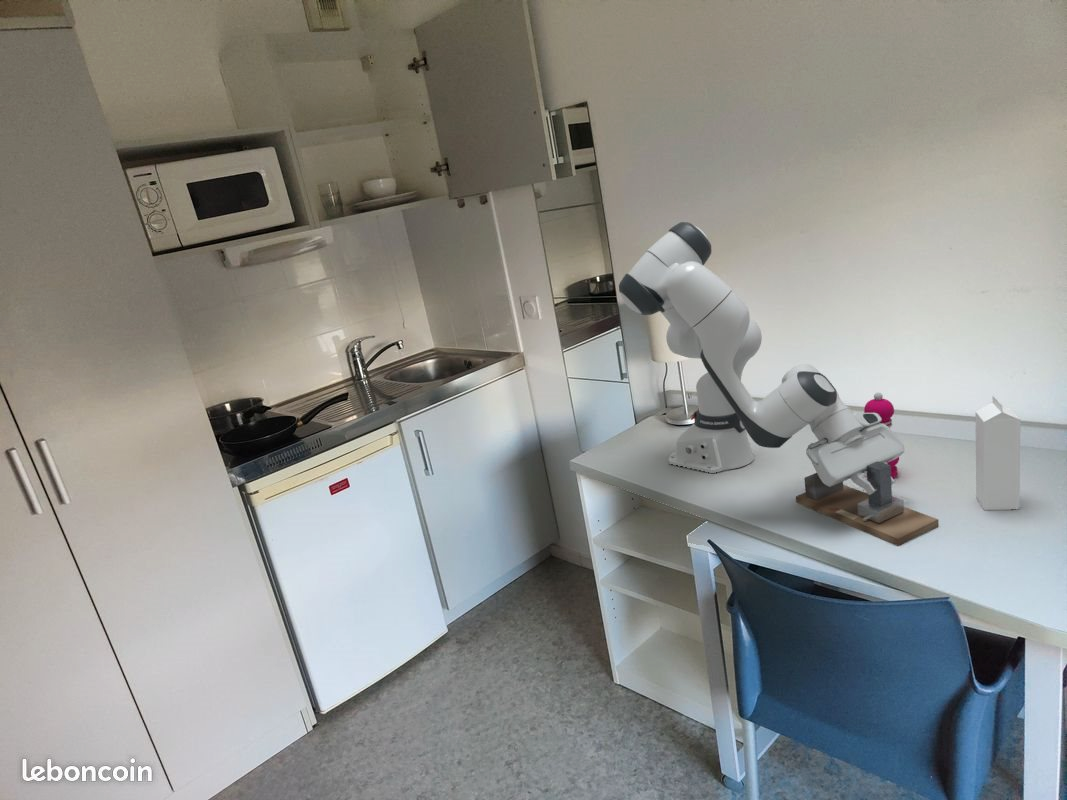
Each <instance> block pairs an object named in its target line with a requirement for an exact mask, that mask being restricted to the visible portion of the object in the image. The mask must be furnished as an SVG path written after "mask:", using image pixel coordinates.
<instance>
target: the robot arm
mask: <svg viewBox="0 0 1067 800" xmlns="http://www.w3.org/2000/svg"><path fill="white" fill-rule="evenodd" d="M711 254H712V244H711V242H710V240H709V239H708V236H707V234H706V233H705V232H704V231H703V230H702V229H701V228H700V227H698V226H696V225H694V224H692V223H690V222H686V221H685V222H684V221H681V222H678V223H677V224H675V225H674V226H672V227H670V228H669V230H668V232H667V233H665V234H664V235H663V236H662V237H660V238H659V239H658V240H657V241H656V242H654V243H653V245H651V246H650V247H649V248H647V250H646V252H645V253H644V254H643V255H642V256H641V257H640V258H639V260H637V262H635V264H634V266H633V267H632V268H631V269H630V270H629V272H628V273H625V274H624V275H623V277H622V278H621V280H620V282H619V283H618V292H619V293H620V296H621V298H622V301H623V302H624V304H625V305H626V306H627V307H628V308H629V309H630V310H632V311H633V312H635V313H638V314H640V315H642V316H651V315H654V314H656V313H659V312H660V313H661V314H662V315H663V316H664V318H665V320H667V321H668V323H669V326H668V328H667V331H666V336H665V337H666V338H665V339H666V343H667V346H668V349H669V351H671V352H672V353H673V354H675V355H678V356H682V357H685V358H688V359H701V362H702V364H703V366H704V368H705V370H706V371H707V372H706V373H705V374H703V375H701V377H700V378H699V379H698V381H697V382H696V385H695V389H696V398H697V404H698V405H697V406H698V407H697V409H696V410H695V411H694V412H693V413H692V414H691V415H690V421H693V420H694V423H693V424H691V425H690V426H689V427H688V428H687V429H686V430H685V431H683V432H682V433H681V434H680V435H679V437H678V438H677V439H676V444H675V450H674V451H672V453H670V455H669V457H668V464H669V465H671V464H673V465H672V466H676V465H678V466H677V467H680V466H683V467H682V468H685V467H687V468H686V469H690V468H692V469H691V470H694V469H697V470H696V471H699V470H701V472H703V471H705V473H708V472H709V474H716V472H717V473H719V472H723V471H728V470H734V469H738V468H739V469H740V468H742V467H744V466H748V465H749V464H751V463H752V462H753V461H754V460H755V454H754V452H753V450H752V447H751V443H750V441H749V437H750V438H751V440H752V441H753V442H754V443H755V444H756V445H757V446H759V447H762V448H768V449H779V448H781V447H782V446H784V444H785V443H786V442H788V441H789V440H790V439H791V438H793V436H794V435H796V434H797V433H798V432H799V431H801V430H802V429H804V428H806V426H808V425H809V428H810V430H811V432H812V433H813V434H814V436H815V437H816V439H817V440H818V441H816V442H812V443H809V444H808V446H807V448H806V451H805V452H806V453H805V454H806V456H807V458H808V459H809V461H811V464H812V466H813V469H814V470H815V471H816V472H815V473H817V474H818V476H819V477H820V479H821V481H822V482H823V483H824V484H825V485H827V486H829V487H831V486H833V485H836V484H838V483H840V482H843V483H844V482H845V481H847V480H849V479H850V480H851V481H852V482H853V484H855V485H857V486H858V487H860V488H862V489H864V491H865V493H867V494H869V495H871V494H873V493H875V492H876V491H878V487H877V486H876V485H875V483H874V482H872V483H870V482H868V481H867V478H866V479H865V478H864V476H865V475H864V473H867V465H870V464H872V463H874V462H877V461H878V462H882V463H885V464H887V462H890V461H892V460H895V459H897V458H898V457H899V458H900V457H901V456H902V455H903V454H904V453H905V445H904V444H903V442H902V441H901V439H900V438H899V436H897V434H895V432H894V431H893V430H892V428H891V427H890V428H889V427H888V426H887V425H885V424H882V423H880V422H881V420H882V419H881V417H880V416H879V415H878V414H877V413H864V412H857V411H856V412H853V410H852V409H851V408H850V407H849V406H848V405H846V404H845V403H844V401H842V399H841V397H840V395H839V393H838V391H837V389H836V388H835V386H834V385H833V384H832V383H831V381H830V379H828V378H827V377H826V375H824V374H823V373H821V372H820V371H819V370H818V369H817V368H816V367H815V366H813V365H812V364H810V363H803V364H799V365H797V366H794V367H793V368H791V369H790V370H788V371H786V373H785V374H784V375H783V377H782V378H781V383H780V384H779V385H778V386H777V387H776V388H775V389H774V390H772V391H771V392H769V394H767V395H766V396H765V397H763V398H762V399H760V400H755V399H754V398H753V397H752V395H751V394H750V393H749V391H748V389H747V388H746V386H745V385H744V384H743V382H742V376H743V371H744V368H745V366H746V364H747V363H748V362H749V360H751V358H753V357H754V356H755V355H756V354H757V353H758V351H759V349H760V347H761V344H762V331H761V328H760V326H759V325H758V323H757V322H756V321H755V320H754V319H751V317H750V316H751V315H750V311H749V307H748V305H746V304H745V302H744V301H743V299H742V298H741V297H740V296H739V295H738V294H737V292H736V291H734V289H732V288H731V287H730V286H729V285H728V284H727V283H726V282H725V281H724V280H723V279H722V278H720V277H719V276H718V275H716V273H714V272H713V271H711V270H710V269H709V268H707V267H706V266H704V265H705V264H706V263H707V261H708V259H709V258H710V256H711ZM748 435H749V437H748ZM895 483H896V481H895V478H892V477H891V486H893V485H894V484H895Z"/></svg>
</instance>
